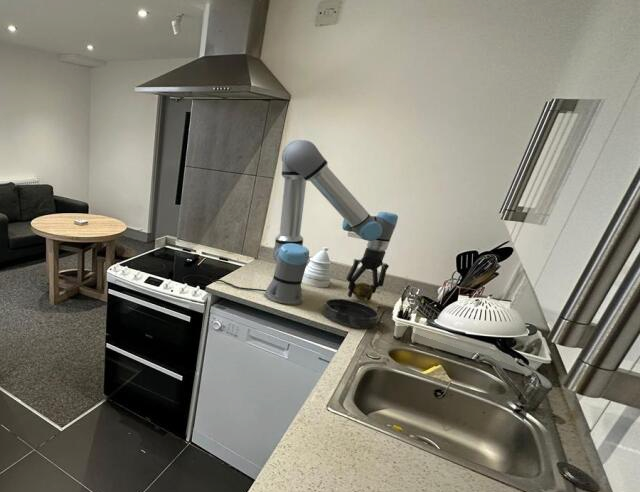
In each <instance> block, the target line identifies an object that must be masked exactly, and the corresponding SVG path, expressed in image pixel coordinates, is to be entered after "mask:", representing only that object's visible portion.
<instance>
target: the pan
mask: <svg viewBox="0 0 640 492" xmlns="http://www.w3.org/2000/svg"><path fill="white" fill-rule="evenodd" d="M322 314H323V315H324V316H325V317H326V318H327V319H329V320H331V321H333V322H334V323H337V324H340V325H342V326H346V327H350V328H355V329H371V328H374V327H375V326H376V325H377V322H378V319H379V317H380V313H378V311H377V310H375V309H374V308H372V306H369V305H366V304H364V303H360V302H358V301H355V300H350V299H343V298H329V299H327V300H325V302H324V305H323V308H322Z"/></svg>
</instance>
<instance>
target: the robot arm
mask: <svg viewBox="0 0 640 492" xmlns="http://www.w3.org/2000/svg"><path fill="white" fill-rule="evenodd" d="M281 162H282V164H281V176H282V177H283V179H284V184H283V194H282V206H281V214H280V225H279V234H278V235H277V236H276V237H275V241H274V247H273V249H272V257H273V259H274V261H275V264H276V265H275V268H274V273H273V277H272V280H271V281H270V283H269V285H268V286H267V288H266V289H261V288H252V287H241V286H237V285H235V284H233V283H230V282H227V281H226V280H222V279H214V280H212V283H216V282H220V283H224V284H226V285H228V286H231V287H233V288H235V289H239V290H246V291H247V290H249V291H256V292H257V291H258V292H264V296H265V297H266V299H268V300H269V301H272V302H274V303H277V304H282V305H289V306H294V305H295V306H297V305H300V304H301V303H302V299H303V293H302V283H303V282H302V279H303V275H304V272H305V268H306V267H307V265H308V261H309V260H310V251H309V249H308V248H307V246H303V245H304V238H303V236H302V235H301V232H302V231H301V230H302V222H303V213H304V203H305V197H306V196H305V195H306V187H307V182H310V183H311V184H312V185H313V186H314V187H315V188H316V189H317V190H318V191H319V193H320V194H321V195H322V196H323V197H324V199H326V200H327V202H328V203H329V204H330V205H331V207H333V208H334V209H335V210H336V211H337V212H338V214H339V215H340V216H341V217H342V219H343V220H342V230H343V231H346V232H349V233H354V234H356V235H357V236H358V237H359V238H361V239H362V240H364V241H367V244H366V248H365V250H364V253H363V255H362V257H361V259H357V258H354V259H353V264H352V266H351V268H350V270H349V272H348V273H347V276H346V281H348V282H349V283H348V286H347V289H348V293H347V296H348V298H352V296H353V290H354V288H355V285H356V284H357V283H356V281H358V279H359V278H360V277H361V275H363V273H364V272H365V271H366V270H367V271H369V270H370V271H372V272H371V273H372V284H370V286H371V287H372V289H373V293H372V295H371V296H370V297H368V298H366V300H367V301H371V298H372V296H373V294H375V293H376V291H377V289H378V288H379V287H383V286H384V283H385V278H386V275H387V274H386V273H387V270H388V269H389V267H390V265H389V264H388V263H384V262H383V260H384V258H385V256H386V253H387V252H386V251H387V249H388V247H389V245H390V242H391V238H392V236H393V234H394V231H395V228H396V227H397V223H398V220H399V216H398V215H397V214H396V213H394V212H393V213H392V212H387V211H380V212H378V213H377V215H370V212H369V211H367V210H366V208H365V207H364V206H363V205H362V204H361V203H360V202H359V200H358V199H356V197H355V196H354V195H353V194H352V193H351V191H350V190H349V189H348V188H347V187H346V186H345V185H344V184H343V182H342V181H341V180H340V179H339V178H338V176H336V174H334V172H333V171H332V170H331V169H330V167H328V165H329V162H328V160H326V158H325V157H324V156H323V155H322V153H321V152H320V151H319V149H318V148H317V146H316V145H315V144H314V143H313V142H312V141H310V140H305V139H296V140H294V141H291V142H290V143H288V144H287V145H286V146H285V147H284V148H283V150H282V153H281ZM360 264H361V266H359V265H360ZM358 267H359V269H358V270H357V268H358ZM380 267H381V269H380V273H379V276H378V272H379V271H378V269H379V268H380Z"/></svg>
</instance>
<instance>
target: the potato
mask: <svg viewBox="0 0 640 492" xmlns="http://www.w3.org/2000/svg"><path fill="white" fill-rule="evenodd" d="M355 284H356V285H355V288H354V290H353V293H352V295H354V296H355V297H356V298H359V299H361V300H364V299H367V298H368V297H370V296H371V295H372V296H373V294H374V293H373V289H372V287H371V284H368V283H365V282H358V283H355ZM372 296H371V297H372Z"/></svg>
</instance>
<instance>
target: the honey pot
mask: <svg viewBox="0 0 640 492" xmlns="http://www.w3.org/2000/svg"><path fill="white" fill-rule="evenodd" d="M328 250H329V247H328V246H323V247H322V250H320V251H318V252H317V253H316V254H315V255H313V256H312V257H309V262H308V263H307V265H306V268H305V272H304V275H303V279H302V282H301V283H303V284H305V285H306V286H311V287H315V288H328V287H329V285H330V281H331V277H332V273H331V272H332V271H331V270H332V268H331V264H332V261H331V260H330V256H329V254H328V252H327V251H328Z"/></svg>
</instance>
